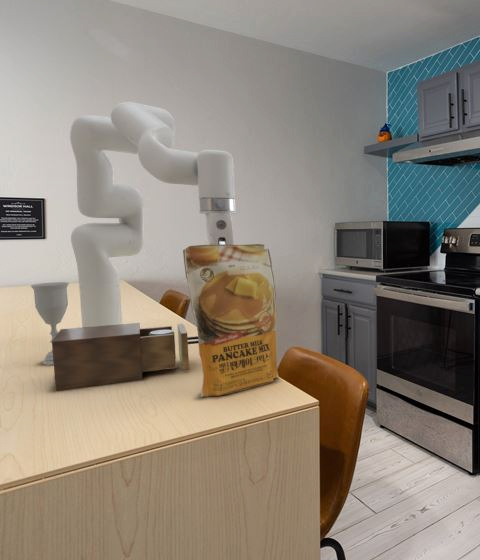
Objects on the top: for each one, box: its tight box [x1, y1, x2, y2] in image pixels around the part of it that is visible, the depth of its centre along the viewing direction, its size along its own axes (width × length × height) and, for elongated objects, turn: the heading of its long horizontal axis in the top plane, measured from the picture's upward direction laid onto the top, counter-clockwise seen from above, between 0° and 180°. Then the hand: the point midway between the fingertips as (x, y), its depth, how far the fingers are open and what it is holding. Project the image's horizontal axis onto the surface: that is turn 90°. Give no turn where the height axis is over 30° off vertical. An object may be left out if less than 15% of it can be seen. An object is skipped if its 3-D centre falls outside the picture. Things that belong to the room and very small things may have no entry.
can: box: [149, 329, 177, 360], centre depth 111 cm, size 5×5×6 cm
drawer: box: [140, 323, 199, 373], centre depth 111 cm, size 18×11×8 cm, turn 119°
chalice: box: [30, 281, 70, 366], centre depth 116 cm, size 7×7×18 cm
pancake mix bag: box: [182, 243, 280, 398], centre depth 98 cm, size 7×19×28 cm, turn 138°
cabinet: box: [51, 322, 143, 391], centre depth 105 cm, size 15×13×10 cm
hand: (220, 286), depth 115 cm, fingers open, 5 cm apart
